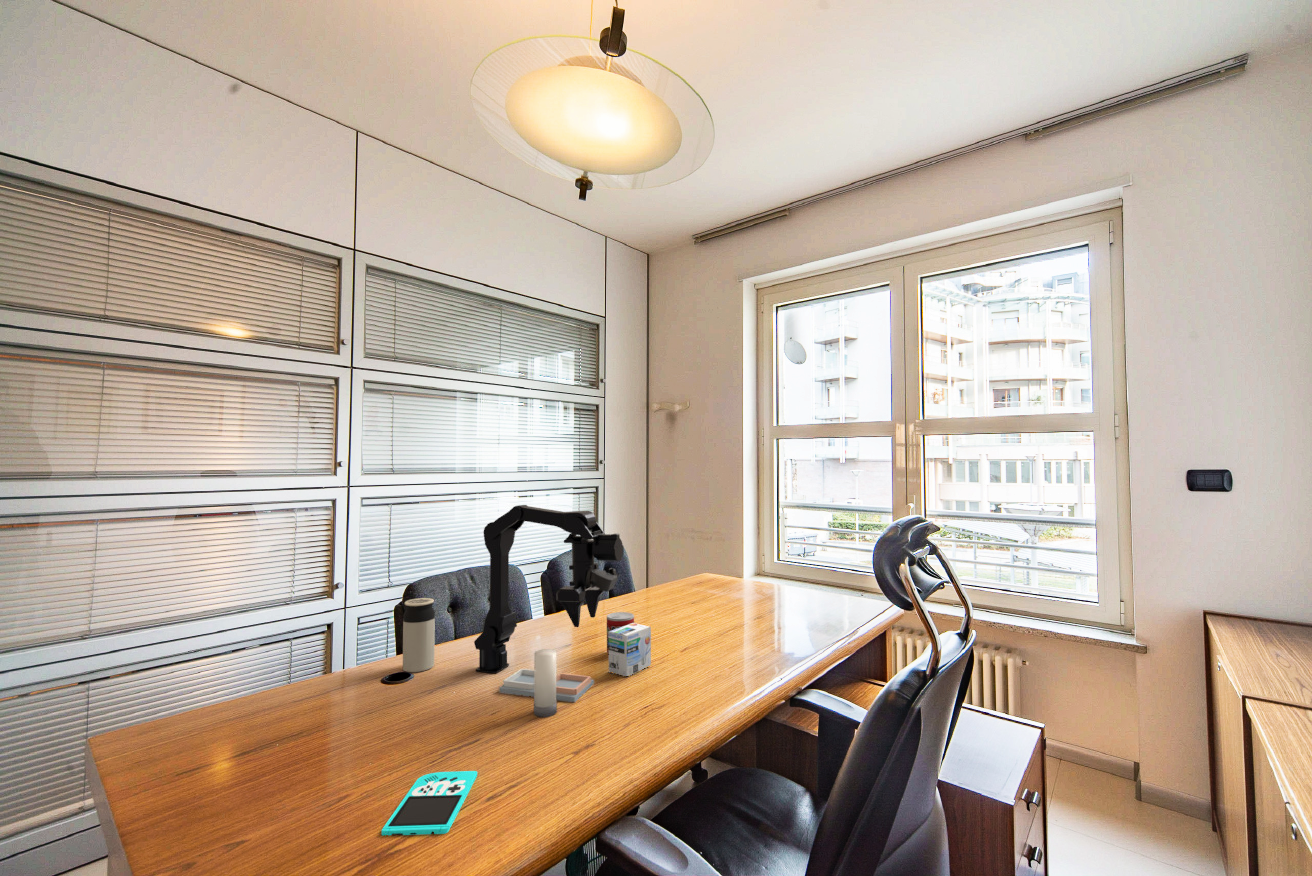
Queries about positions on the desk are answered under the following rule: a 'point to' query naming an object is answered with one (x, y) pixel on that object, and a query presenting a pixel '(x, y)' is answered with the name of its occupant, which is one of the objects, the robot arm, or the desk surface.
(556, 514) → the robot arm
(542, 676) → the white cylinder
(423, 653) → the travel mug
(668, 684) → the desk surface
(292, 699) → the desk surface
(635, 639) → the light bulb box
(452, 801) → the handheld game console
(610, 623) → the canned food
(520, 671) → the socket board
